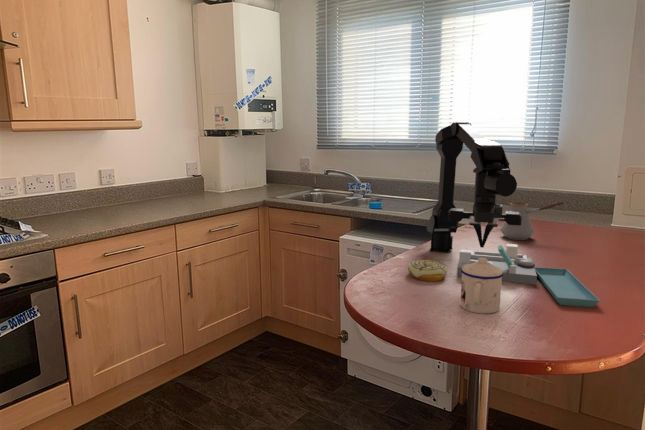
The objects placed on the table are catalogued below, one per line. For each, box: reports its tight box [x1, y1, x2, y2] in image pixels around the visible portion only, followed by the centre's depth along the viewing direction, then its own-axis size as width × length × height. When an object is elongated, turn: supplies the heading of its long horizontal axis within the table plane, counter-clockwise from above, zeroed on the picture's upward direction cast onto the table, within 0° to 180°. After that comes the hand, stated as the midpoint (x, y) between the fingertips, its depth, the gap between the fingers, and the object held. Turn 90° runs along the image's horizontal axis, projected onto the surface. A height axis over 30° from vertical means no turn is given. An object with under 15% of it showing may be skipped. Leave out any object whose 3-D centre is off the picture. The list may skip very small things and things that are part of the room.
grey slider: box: [458, 248, 472, 264], centre depth 133 cm, size 3×3×4 cm
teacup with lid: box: [460, 257, 503, 315], centre depth 107 cm, size 12×9×12 cm
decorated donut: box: [407, 259, 448, 282], centre depth 132 cm, size 10×11×4 cm
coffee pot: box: [500, 201, 567, 241], centre depth 173 cm, size 21×12×15 cm, turn 57°
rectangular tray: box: [534, 266, 601, 308], centre depth 122 cm, size 26×9×2 cm, turn 168°
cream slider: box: [505, 243, 519, 258], centre depth 139 cm, size 3×3×4 cm
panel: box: [456, 250, 538, 286], centre depth 136 cm, size 20×18×4 cm
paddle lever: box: [497, 244, 515, 266], centre depth 130 cm, size 1×5×7 cm
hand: (481, 247), depth 131 cm, fingers closed
